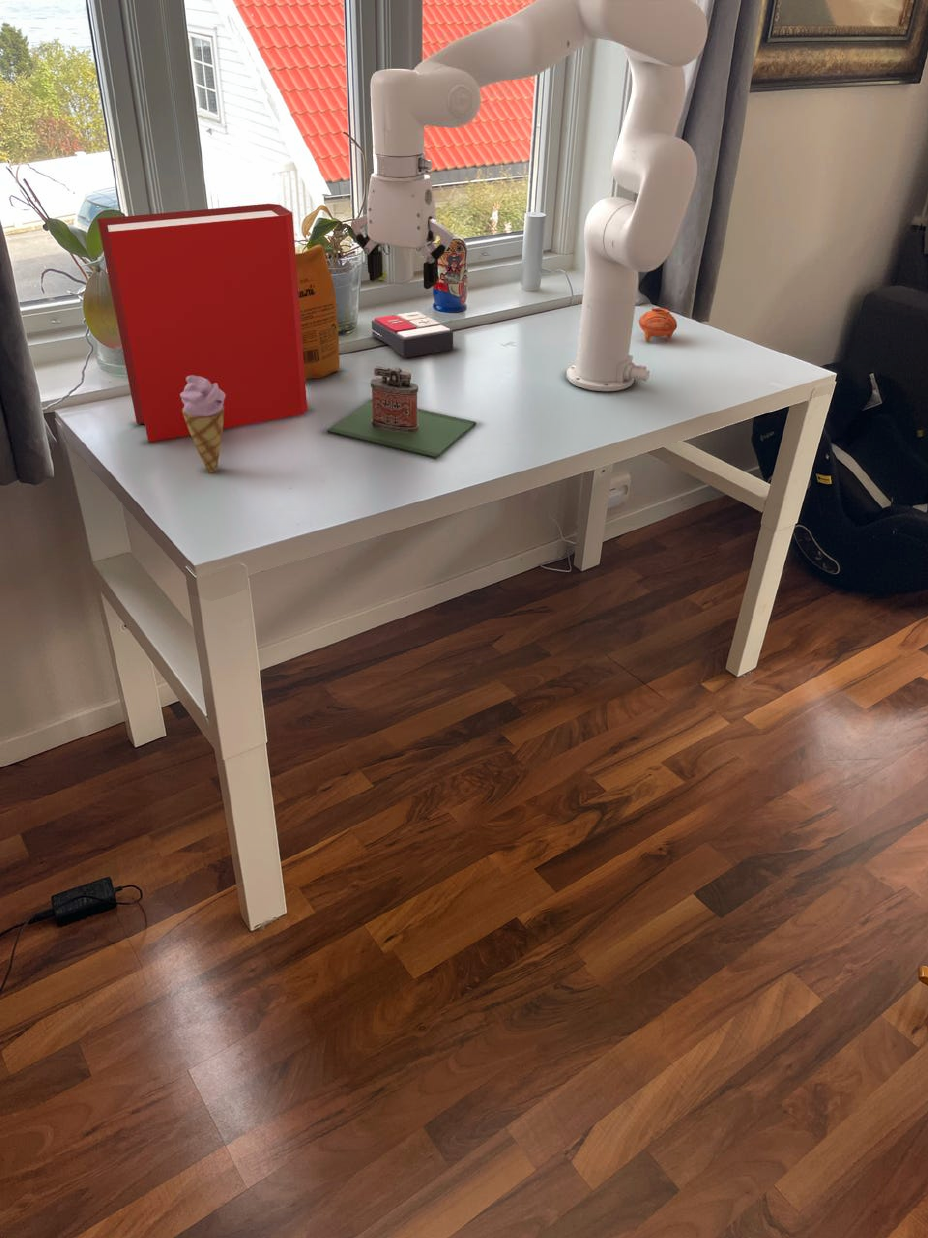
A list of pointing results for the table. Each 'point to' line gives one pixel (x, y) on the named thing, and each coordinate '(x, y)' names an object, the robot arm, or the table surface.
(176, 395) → the book
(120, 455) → the table surface
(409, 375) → the lighter
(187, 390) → the ice cream cone
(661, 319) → the pot
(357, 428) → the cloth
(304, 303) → the coffee package
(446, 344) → the card game box
